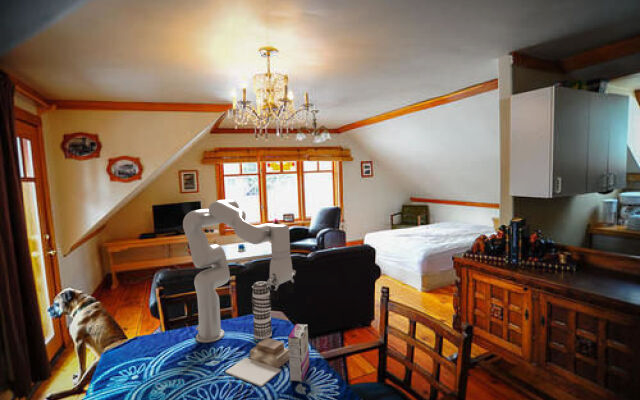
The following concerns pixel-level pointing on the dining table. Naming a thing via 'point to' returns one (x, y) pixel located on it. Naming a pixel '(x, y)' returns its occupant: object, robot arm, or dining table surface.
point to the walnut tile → (270, 346)
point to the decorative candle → (261, 310)
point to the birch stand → (270, 357)
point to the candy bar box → (298, 352)
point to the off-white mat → (253, 371)
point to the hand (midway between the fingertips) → (282, 295)
